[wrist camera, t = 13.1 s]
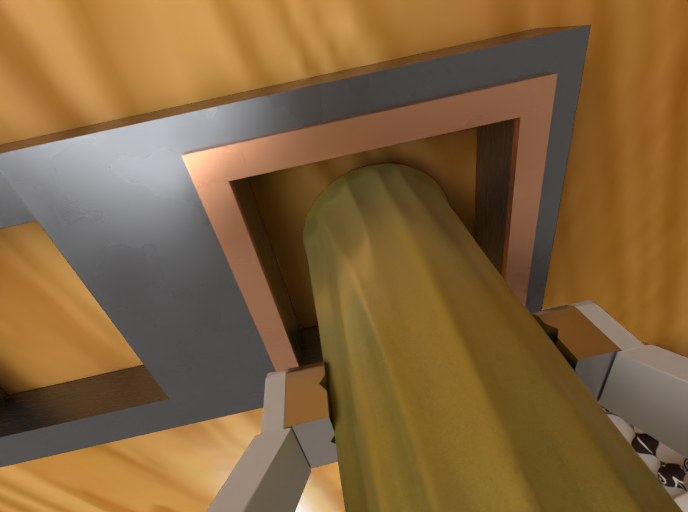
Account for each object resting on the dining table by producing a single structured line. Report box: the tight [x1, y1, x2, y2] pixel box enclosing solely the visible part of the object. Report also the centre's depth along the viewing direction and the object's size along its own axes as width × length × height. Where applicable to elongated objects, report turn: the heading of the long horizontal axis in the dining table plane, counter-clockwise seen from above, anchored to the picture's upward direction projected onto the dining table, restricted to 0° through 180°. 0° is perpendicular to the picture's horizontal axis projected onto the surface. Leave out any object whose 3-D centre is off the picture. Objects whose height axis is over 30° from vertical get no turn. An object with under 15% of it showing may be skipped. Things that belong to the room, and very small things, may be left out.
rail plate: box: [0, 25, 591, 467], centre depth 14 cm, size 13×28×3 cm, turn 100°
